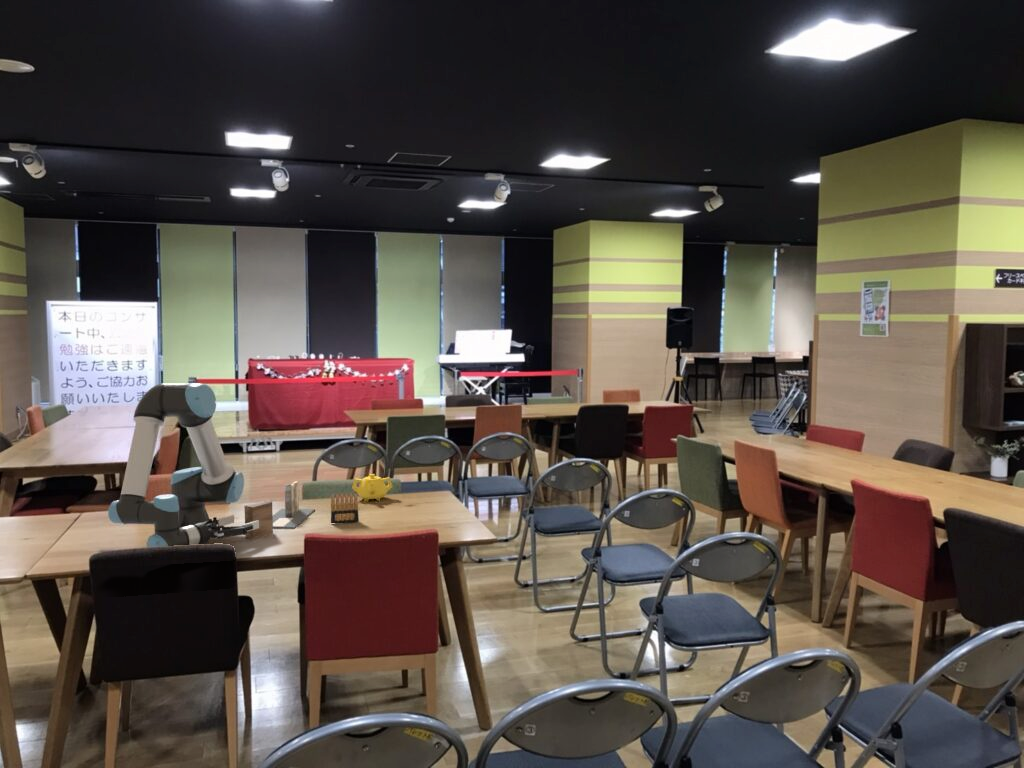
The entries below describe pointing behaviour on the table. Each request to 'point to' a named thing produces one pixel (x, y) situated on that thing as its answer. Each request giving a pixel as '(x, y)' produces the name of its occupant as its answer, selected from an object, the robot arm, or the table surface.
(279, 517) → the mat
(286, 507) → the birch hinge leaf
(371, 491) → the teapot
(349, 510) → the ammunition clip
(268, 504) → the brown rectangular block
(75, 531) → the table surface
